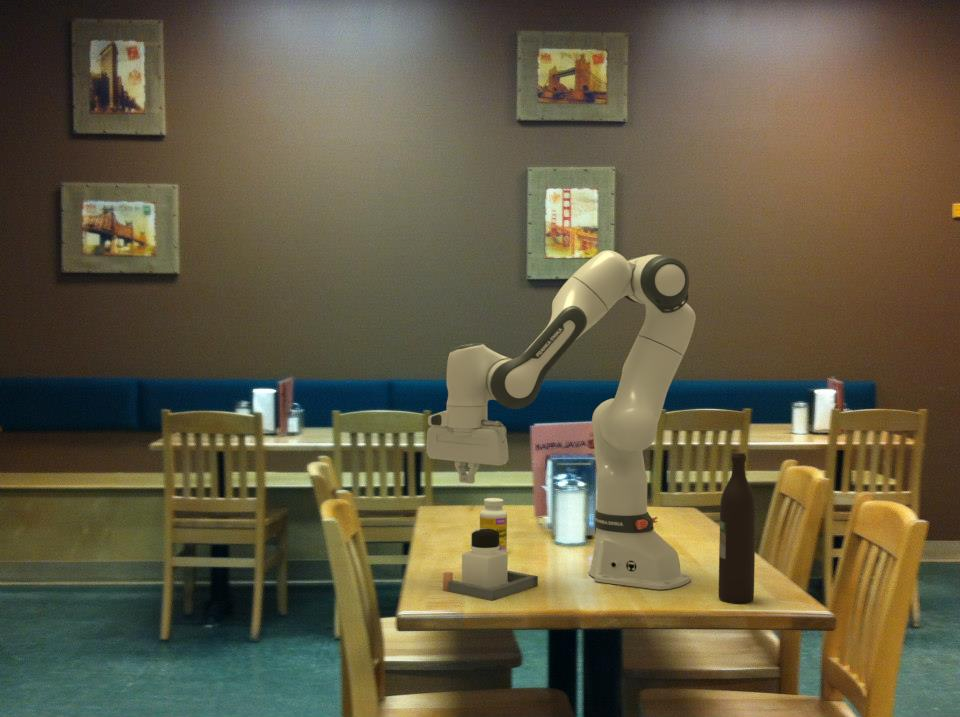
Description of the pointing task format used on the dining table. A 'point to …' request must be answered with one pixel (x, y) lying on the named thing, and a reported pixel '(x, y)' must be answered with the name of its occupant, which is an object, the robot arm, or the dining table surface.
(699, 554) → the dining table surface
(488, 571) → the medicine bottle
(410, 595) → the dining table surface
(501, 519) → the supplement bottle
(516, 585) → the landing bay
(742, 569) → the wine bottle
